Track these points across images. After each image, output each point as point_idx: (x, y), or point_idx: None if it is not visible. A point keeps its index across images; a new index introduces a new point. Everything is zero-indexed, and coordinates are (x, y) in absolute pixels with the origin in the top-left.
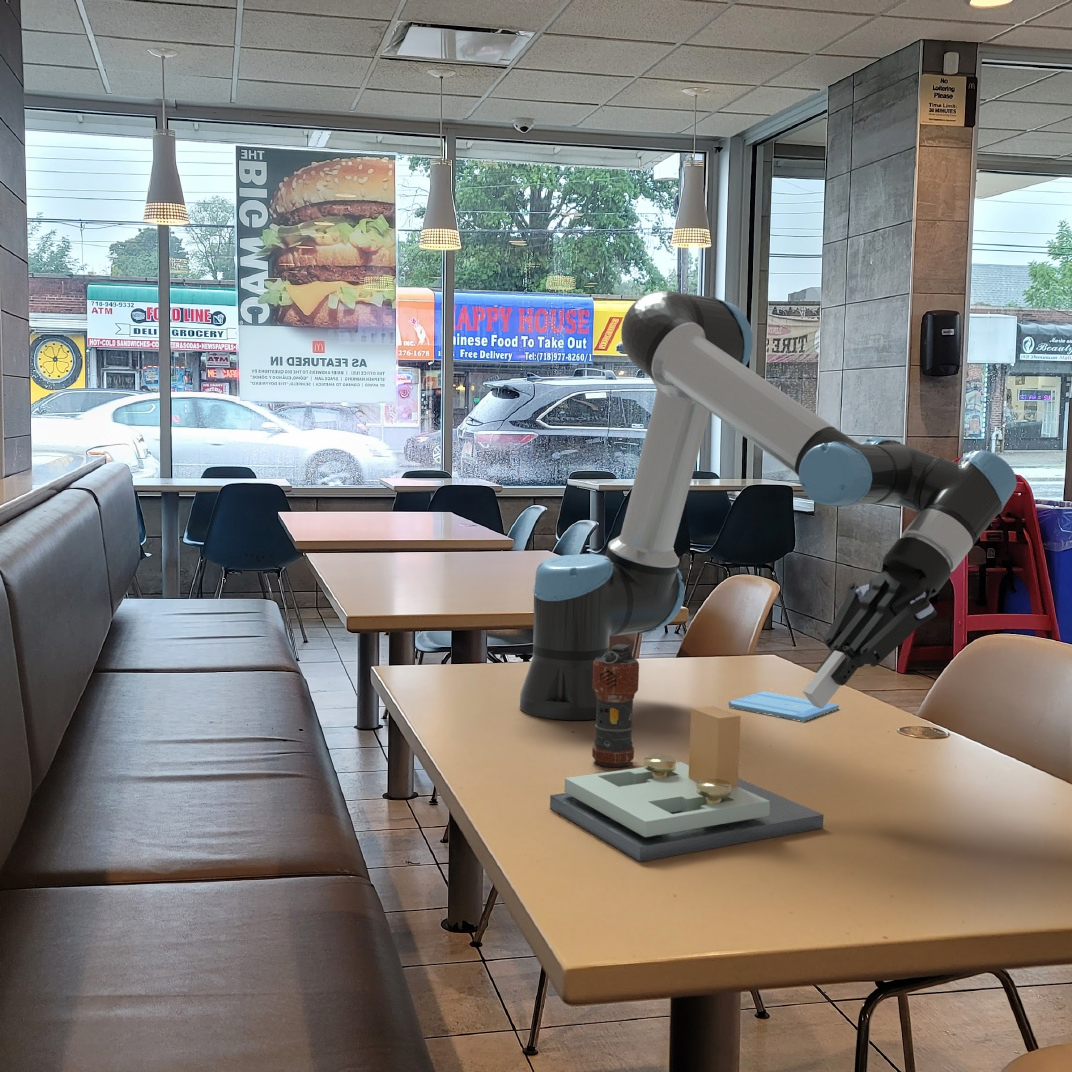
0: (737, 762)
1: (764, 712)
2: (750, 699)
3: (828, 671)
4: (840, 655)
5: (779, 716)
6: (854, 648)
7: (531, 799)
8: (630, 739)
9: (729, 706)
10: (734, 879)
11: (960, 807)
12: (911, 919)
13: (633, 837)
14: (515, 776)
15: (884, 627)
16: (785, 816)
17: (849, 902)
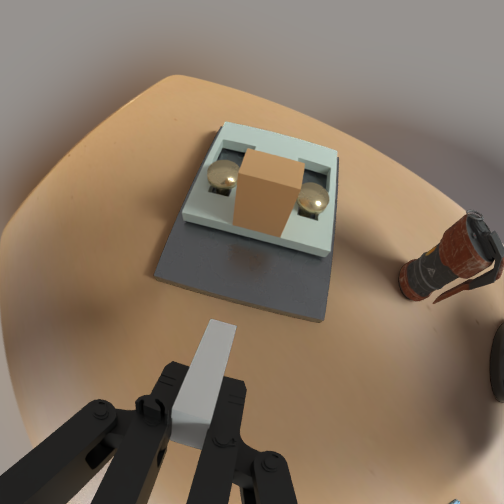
0: (234, 209)
1: None
2: None
3: (194, 361)
4: (178, 401)
5: None
6: (140, 423)
7: (357, 170)
8: (416, 282)
9: (455, 499)
10: (159, 150)
11: None
12: (59, 180)
13: None
14: (404, 199)
15: (50, 476)
16: (178, 242)
17: (90, 172)
